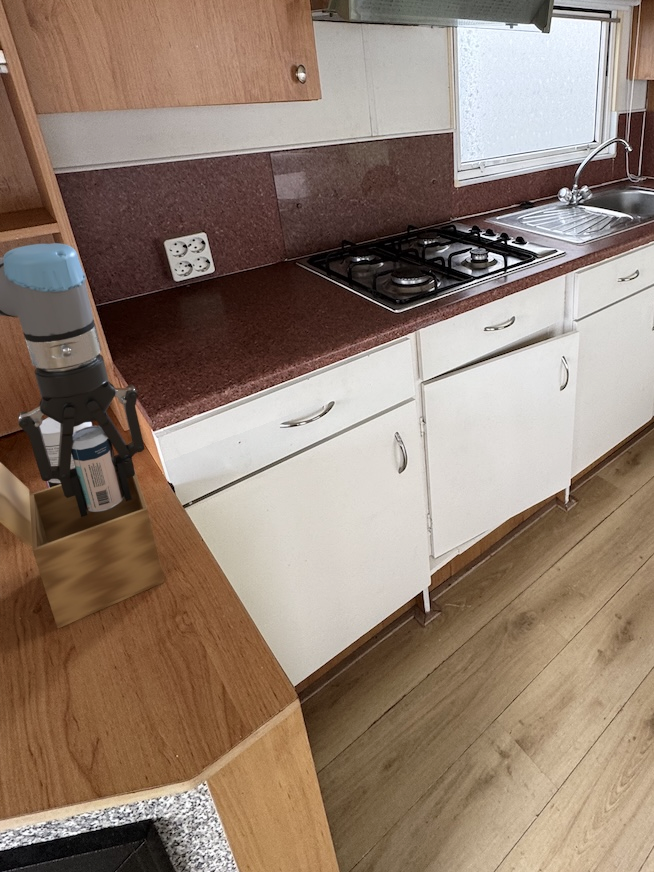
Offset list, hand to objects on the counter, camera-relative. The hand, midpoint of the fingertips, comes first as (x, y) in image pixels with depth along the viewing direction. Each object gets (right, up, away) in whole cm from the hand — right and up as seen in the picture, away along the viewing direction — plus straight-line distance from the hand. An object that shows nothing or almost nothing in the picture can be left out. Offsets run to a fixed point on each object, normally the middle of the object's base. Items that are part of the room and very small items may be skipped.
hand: (105, 502), depth 85 cm
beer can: (0, 0, 0) cm, 0 cm away
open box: (-2, -12, +3) cm, 12 cm away
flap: (-7, +3, -7) cm, 11 cm away
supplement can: (-18, -6, +20) cm, 28 cm away
